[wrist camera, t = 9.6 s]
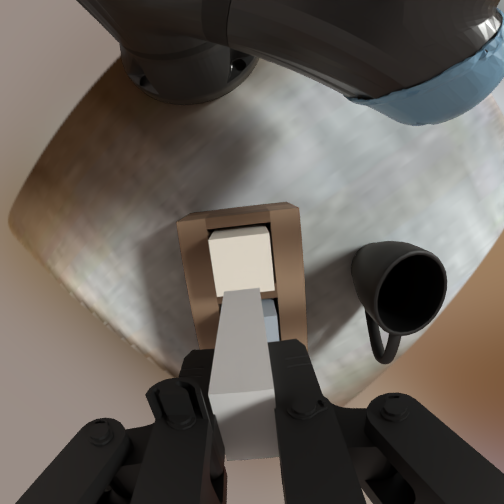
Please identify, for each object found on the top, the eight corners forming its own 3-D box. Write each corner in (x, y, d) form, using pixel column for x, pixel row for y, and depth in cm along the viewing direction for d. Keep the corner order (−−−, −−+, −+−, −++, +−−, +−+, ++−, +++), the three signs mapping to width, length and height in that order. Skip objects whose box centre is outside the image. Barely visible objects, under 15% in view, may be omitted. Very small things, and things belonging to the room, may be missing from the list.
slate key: (225, 290, 30) (221, 321, 23) (269, 285, 30) (277, 315, 23) (231, 328, 31) (229, 366, 24) (273, 324, 31) (280, 361, 24)
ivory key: (216, 225, 28) (208, 240, 22) (262, 220, 28) (269, 233, 22) (222, 270, 29) (216, 296, 23) (267, 265, 29) (274, 290, 23)
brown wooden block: (190, 213, 31) (176, 222, 24) (286, 201, 31) (298, 207, 24) (218, 374, 35) (214, 411, 29) (298, 365, 35) (308, 400, 29)
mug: (324, 324, 34) (349, 370, 25) (348, 224, 31) (387, 242, 22) (383, 329, 35) (417, 369, 25) (409, 237, 32) (457, 257, 23)
